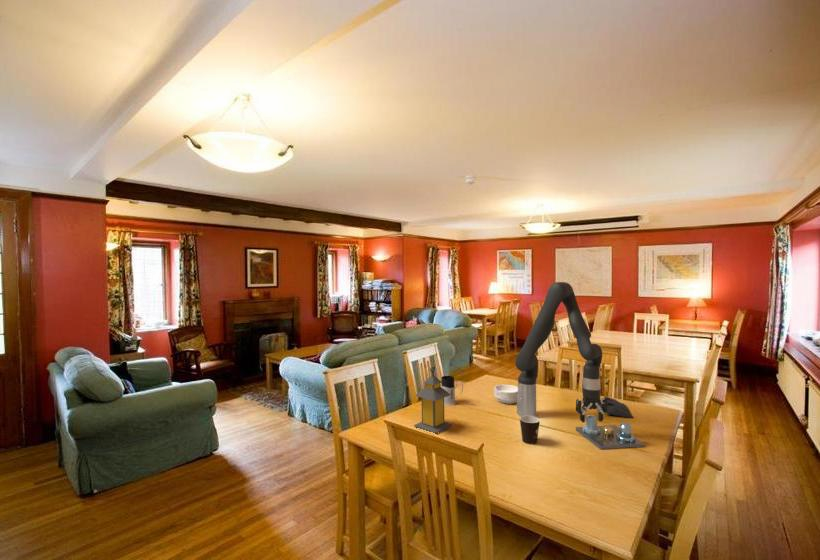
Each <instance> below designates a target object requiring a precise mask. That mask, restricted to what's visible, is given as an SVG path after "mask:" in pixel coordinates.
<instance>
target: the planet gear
mask: <svg viewBox="0 0 820 560" xmlns="http://www.w3.org/2000/svg"><path fill="white" fill-rule="evenodd" d="M597 426H598V416H596V415H593V414H588V415H585V425H582V426H581V427H582V429H583V431H584V432H586V433H588V434H599V433H601V430H600V428H597Z"/></svg>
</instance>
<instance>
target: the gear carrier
mask: <svg viewBox="0 0 820 560" xmlns="http://www.w3.org/2000/svg"><path fill="white" fill-rule="evenodd" d="M582 427H583V426H577V427H575V431H576V432H578V434H580V435H581V436H583V437H584V438H585V439H586V440H587V441H589V442H590V443H591V444H593V446H595V447H596V448H598V449H599V450H613V449H630V448H629V447H633V448H644V447H645V443H644V442H643V441H641V440H640V439H638V438H637V437H635V435H634V434H633V435H632V424H631V423H628V422H625V421H624V422H623V421H622V422H620V423H619V426H618V425H616V424H613V425H611V424H607V425H597V428H600V430H601V433H599V434H588V433H586V432H584V431H583V429H582ZM643 446H644V447H643Z"/></svg>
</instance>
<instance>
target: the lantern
mask: <svg viewBox="0 0 820 560" xmlns="http://www.w3.org/2000/svg"><path fill="white" fill-rule="evenodd" d="M429 370H430V371H429V372H430V374H431V375H430V376H429V377H428V378H427V379H425V381H423V383H424V387H423V388H422V389H421V390H419V391H418V392H417V393H416V394H415V395H414V396H415V397H419V398H421V421H420V422H418V423H416V424H414V428H415V427H416V428H415V429H417V428H420V429H423V430H426V431H429V432H433V433H435V434H436V435H438V434H437V433H438V432H441V431H443V432H445V431H446V430H449V429H450V428H452V426H453V424H452V423H451V422H447V421H446V420H445V405H444V398H445V397H447V396H450V395H451V394H450V393H448V392H447V391H446V390H444V389H443V388H442V387H441V379H439V378H438V377H436V376H435V370H436V367H435V366H430V367H429ZM420 429H419V430H420ZM444 430H445V431H444ZM441 433H442V432H441Z"/></svg>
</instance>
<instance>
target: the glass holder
mask: <svg viewBox="0 0 820 560" xmlns="http://www.w3.org/2000/svg"><path fill="white" fill-rule="evenodd" d="M440 381H441V383H440V387H442V388H443V389H444V390H446V391H447V392H448V393H450V394H451V395H450V396H447V397H445V398H444V406H455V405H456V404H457V403H456V399H457V398H459V397H460V396H461V395H462V393H463V391H464V384H463V382H461V381H457V382H455V377H454V376H453V375H443V376H441V379H440ZM458 383H460V384H461V391H460V394H459V395H457V396H456V388H457V387H458Z"/></svg>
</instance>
